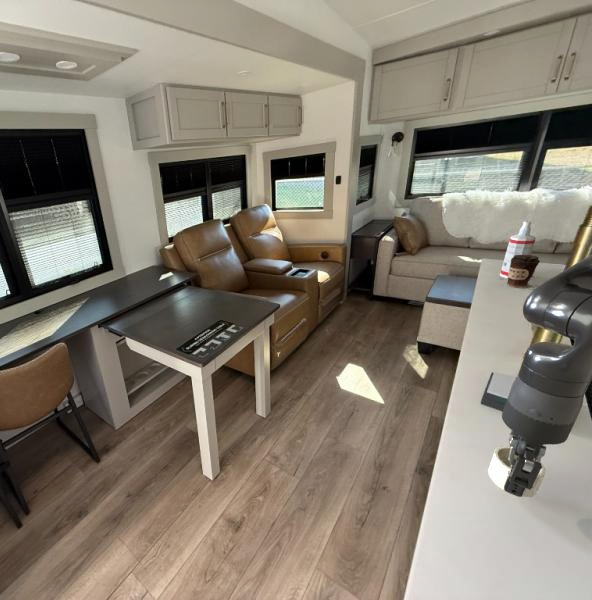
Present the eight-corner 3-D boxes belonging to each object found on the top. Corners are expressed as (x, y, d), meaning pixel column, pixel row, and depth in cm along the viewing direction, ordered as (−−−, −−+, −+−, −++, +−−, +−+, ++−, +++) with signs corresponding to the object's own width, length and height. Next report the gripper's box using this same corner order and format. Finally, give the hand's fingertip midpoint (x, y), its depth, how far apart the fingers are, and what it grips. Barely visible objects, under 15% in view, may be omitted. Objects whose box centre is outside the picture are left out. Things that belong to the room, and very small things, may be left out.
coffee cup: (524, 290, 131) (533, 260, 126) (499, 285, 138) (507, 256, 133) (535, 285, 134) (545, 256, 129) (510, 280, 141) (518, 252, 136)
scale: (489, 378, 86) (492, 369, 85) (549, 396, 78) (552, 386, 77) (480, 403, 78) (483, 394, 77) (544, 426, 71) (549, 416, 69)
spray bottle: (498, 277, 146) (514, 222, 136) (500, 272, 150) (516, 219, 140) (522, 279, 140) (540, 223, 131) (524, 275, 145) (541, 220, 135)
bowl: (502, 462, 61) (510, 441, 59) (545, 491, 55) (555, 469, 53) (478, 474, 59) (485, 452, 57) (519, 504, 54) (529, 482, 52)
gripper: (582, 446, 43) (544, 524, 50) (572, 389, 52) (541, 461, 59) (507, 422, 48) (481, 495, 55) (509, 374, 57) (487, 442, 64)
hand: (512, 477), depth 57 cm, fingers closed on bowl, 6 cm apart
